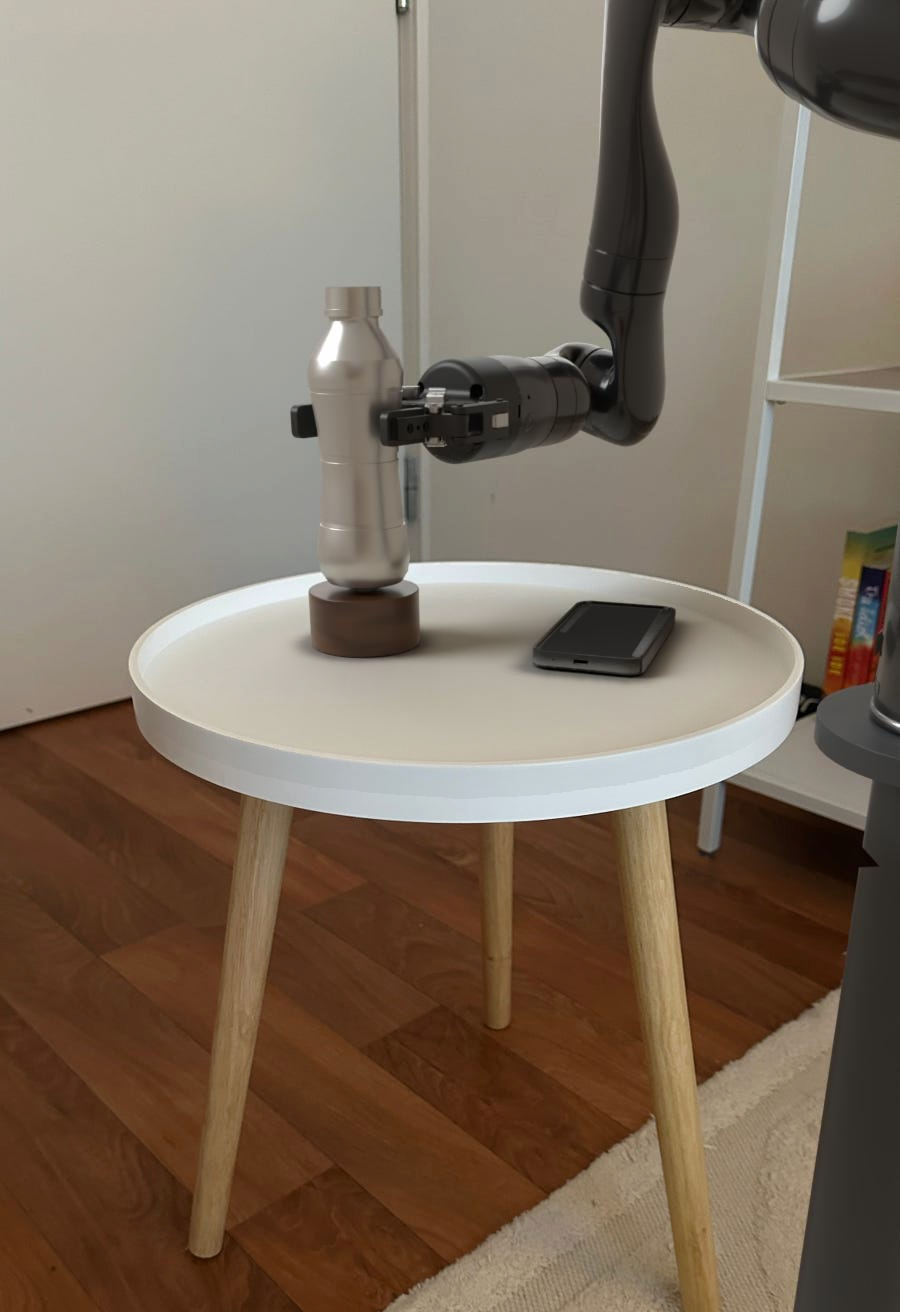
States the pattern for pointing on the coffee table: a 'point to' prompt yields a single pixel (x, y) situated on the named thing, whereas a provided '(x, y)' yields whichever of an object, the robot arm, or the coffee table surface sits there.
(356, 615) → the cylinder
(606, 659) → the phone
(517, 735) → the coffee table surface
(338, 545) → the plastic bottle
